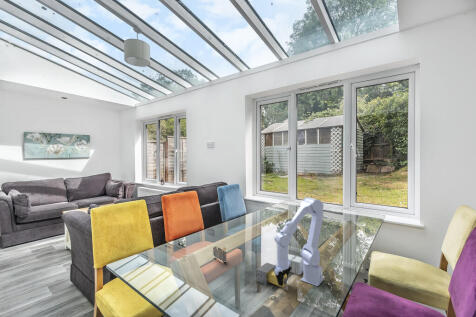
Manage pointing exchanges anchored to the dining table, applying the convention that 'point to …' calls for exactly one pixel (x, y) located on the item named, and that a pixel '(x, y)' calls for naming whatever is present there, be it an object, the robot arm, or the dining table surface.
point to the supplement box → (296, 264)
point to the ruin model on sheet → (219, 253)
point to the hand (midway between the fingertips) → (283, 283)
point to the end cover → (274, 280)
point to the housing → (264, 273)
